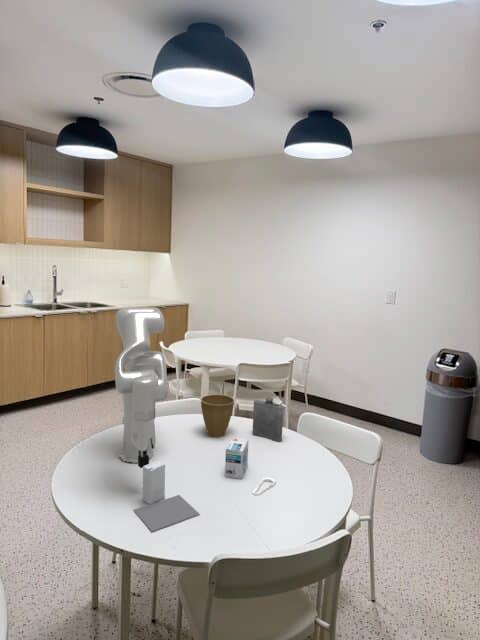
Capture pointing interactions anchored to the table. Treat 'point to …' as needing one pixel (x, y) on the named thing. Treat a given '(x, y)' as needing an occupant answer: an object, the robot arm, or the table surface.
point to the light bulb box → (236, 458)
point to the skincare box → (153, 482)
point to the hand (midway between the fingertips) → (143, 466)
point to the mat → (166, 513)
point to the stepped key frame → (262, 483)
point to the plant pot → (217, 413)
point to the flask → (268, 419)
